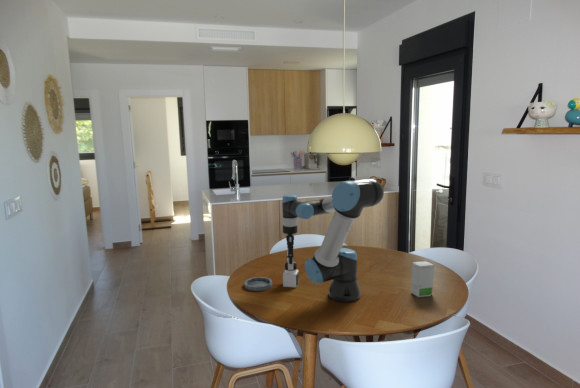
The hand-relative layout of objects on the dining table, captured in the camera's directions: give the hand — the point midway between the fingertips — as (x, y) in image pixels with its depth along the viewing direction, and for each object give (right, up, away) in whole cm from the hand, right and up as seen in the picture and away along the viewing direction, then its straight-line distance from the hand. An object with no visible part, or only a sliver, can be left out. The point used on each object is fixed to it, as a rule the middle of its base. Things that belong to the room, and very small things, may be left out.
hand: (290, 265), depth 209 cm
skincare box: (+64, -12, -13) cm, 66 cm away
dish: (-17, -11, +1) cm, 20 cm away
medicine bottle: (0, -11, +1) cm, 11 cm away
